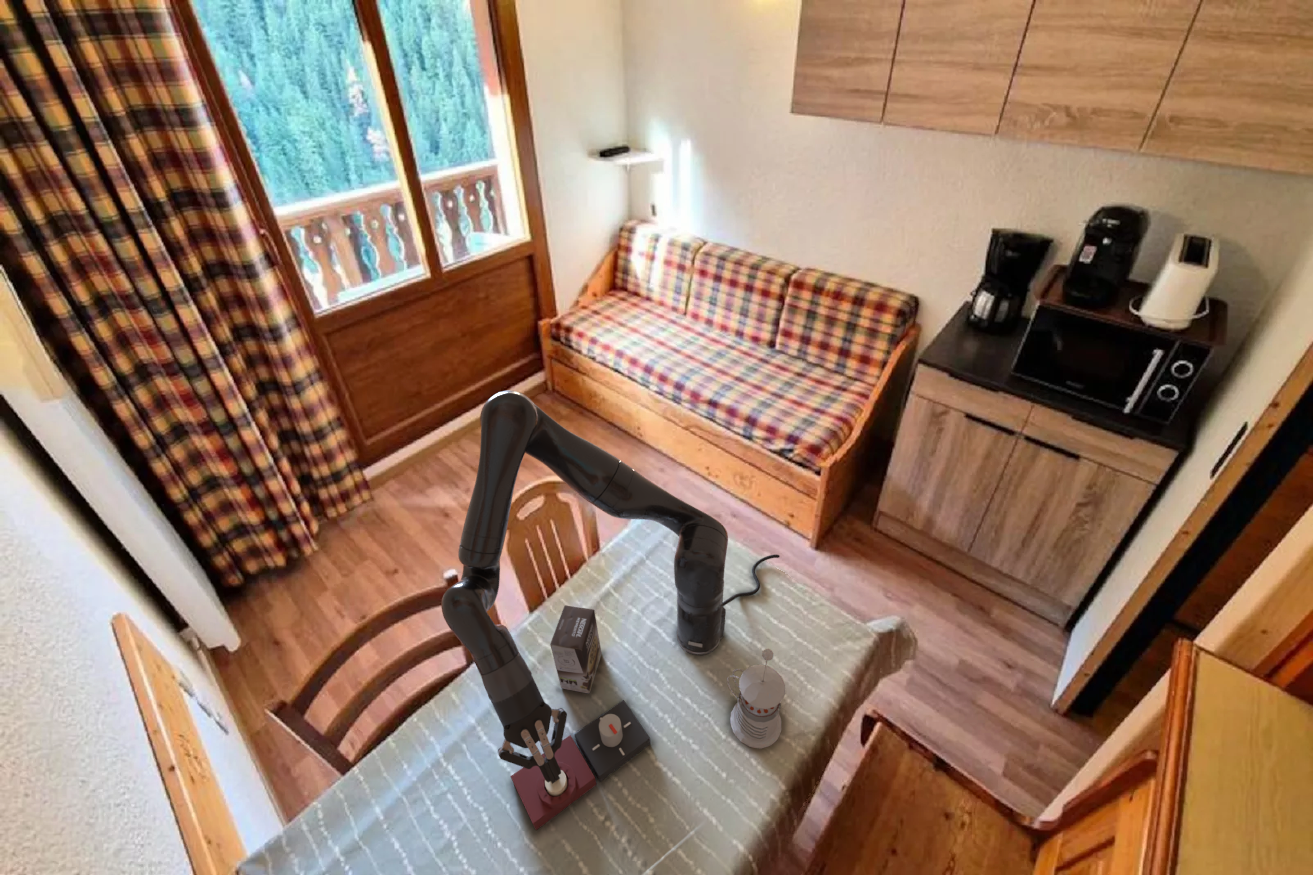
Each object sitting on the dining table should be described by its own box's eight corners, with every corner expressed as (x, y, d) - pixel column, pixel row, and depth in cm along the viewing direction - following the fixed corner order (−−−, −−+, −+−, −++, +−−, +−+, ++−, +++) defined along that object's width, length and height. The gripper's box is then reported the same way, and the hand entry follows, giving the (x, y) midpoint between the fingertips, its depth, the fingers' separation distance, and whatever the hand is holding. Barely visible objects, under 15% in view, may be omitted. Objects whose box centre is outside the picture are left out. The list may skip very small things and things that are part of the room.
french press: (762, 760, 104) (776, 693, 89) (712, 717, 111) (717, 647, 95) (791, 719, 110) (810, 649, 94) (742, 680, 116) (751, 609, 100)
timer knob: (596, 734, 106) (594, 722, 103) (614, 720, 108) (612, 708, 105) (609, 752, 104) (606, 740, 101) (626, 737, 106) (625, 726, 103)
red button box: (572, 742, 108) (569, 730, 105) (599, 788, 102) (596, 777, 98) (513, 783, 103) (508, 772, 99) (537, 834, 96) (533, 824, 93)
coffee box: (590, 694, 115) (581, 651, 105) (560, 688, 116) (548, 645, 106) (603, 653, 122) (595, 608, 111) (574, 648, 123) (564, 603, 113)
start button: (561, 769, 100) (560, 764, 99) (571, 787, 98) (570, 783, 97) (543, 782, 99) (541, 778, 98) (552, 801, 97) (551, 797, 95)
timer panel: (624, 705, 113) (623, 699, 111) (650, 744, 107) (650, 738, 105) (575, 739, 108) (573, 733, 106) (600, 782, 102) (598, 776, 101)
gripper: (541, 661, 103) (583, 749, 103) (471, 704, 97) (515, 797, 97) (551, 669, 96) (595, 762, 96) (476, 715, 91) (523, 815, 91)
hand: (554, 779), depth 97 cm, fingers closed
